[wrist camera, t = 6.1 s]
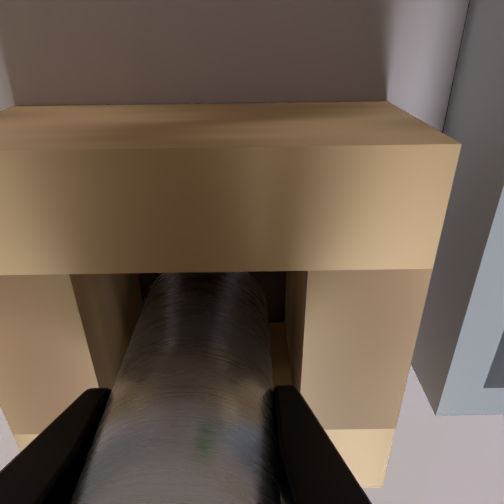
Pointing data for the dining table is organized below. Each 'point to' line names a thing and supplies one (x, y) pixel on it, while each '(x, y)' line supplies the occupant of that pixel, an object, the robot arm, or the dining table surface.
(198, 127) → the square wooden frame
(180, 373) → the pin
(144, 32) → the dining table surface
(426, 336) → the tray
